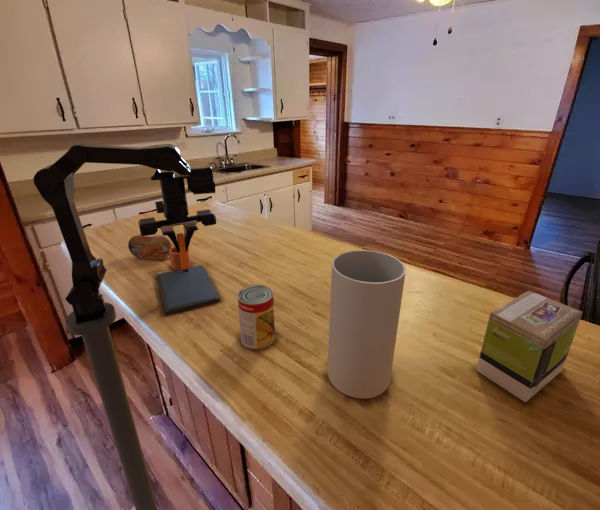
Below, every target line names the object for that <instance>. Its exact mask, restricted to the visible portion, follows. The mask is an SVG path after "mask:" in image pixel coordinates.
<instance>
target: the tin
mask: <svg viewBox="0 0 600 510" xmlns="http://www.w3.org/2000/svg"><path fill="white" fill-rule="evenodd" d="M127 247H128V250H129V252H130V254H132V256H133V257H135V258H136V259H141V260H155V261H156V260H157V261H162V260H165V259H166V258H167V257H170V255H169V249H171V248H172V244H171V240H170V239H168V238H167V237H166V236H163V235H160V234H154V235H148V236H141V233H140V234H137V235H133V236H132V237H130V238H129V240H128V242H127Z"/></svg>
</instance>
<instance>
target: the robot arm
mask: <svg viewBox="0 0 600 510" xmlns="http://www.w3.org/2000/svg"><path fill="white" fill-rule="evenodd" d="M85 163H87V164H88V163H89V164H111V165H112V164H113V165H135V166H144V167H147V168H151V169H154V170H155V172H154V173H153V174H152V175H151V176H150V180H151V181H159V185H160V191H161V196H162V200H158V201H154V204H155V209H156V214H163V217H164V219H162V220H156V217H146V218H140V219H139V220H138V227H139V232H140V234H141V236H148V235H157V233H158V231H159V229H160V231H161V234H162V236H164V237H166V236H167V237H168V238H169V240H170V242H172V244H173V245H174V246H173V247H176V249H177V251H178V253H180V248H179V245H178V241H177V233H176V232H175V229H174V227H177V226H182V227H183V235H184V241H185V248H186V251H188V248H189V247H190V244H191V240H192V238H193V236H194V233H195V231H198V230H199V228H198V226H197V224H198V223H201V225H203V226H204V227H209V226H214V225H215V226H216V225H217V217H216V214H215V213H214V212H213V211H212V210H210V209H204V210H197V211H196V214H195V215H189V207H188V199H187V191H188V192H190V193H191V194H193V196H195V195H207V194H208V195H209V194H216V181H215V178H214V171H213V167H212V166H204V167H191V166H190V165H189V163H187V162H186V161H185V160H184V159H183V158H182V153H181V151H180V149H179V148H178V147H177V146H176V145H174V144H172V143H162V144H153V145H148V146H140V147H139V146H138V147H137V146H122V145H121V146H120V145H104V144H103V145H102V144H101V145H100V144H88V143H84V142H82V143H81V142H79V143H75V144H74V145H71V146H70V147H69V149H68V150H67V151H66V152H65V153H64V154H63V155H62V156H61V157H60V158H58V159H57V160H56V161H55V162H54V163H53V164H49V165H47V166H45V167H43V168H41V169H39V170H38V171H37V172H36V173H35V174H34V175H33V179H32V180H33V185H34V186H35V188H36V189H37V192H38V193H39V195H40V196H41V198H42V199H43V200H44V201H45V202H46V203H47V204H48V205H49V206H50V207H51V208H52V211H53V214H54V217H55V219H56V222H57V225H58V228H59V230H60V233H61V236H62V238H63V242H64V244H65V247H66V250H67V252H68V254H69V258H70V261H71V281H72V287H71V288H70V290H69V292H68V293H67V295H66V297H65V301H66V302H67V304H69V305H70V306H71V308H72V312H73V311H74V314H75V317H76V319H75V323H76V324H78V323H82V322H86V321H91V320H95V319H99V318H103V317H104V312H105V311H106V305H105V303H106V302H105V298H104V294H103V293H102V294H101V293H100V287H101V285H102V284H103V281H104V278H105V276H106V273H107V268H106V267H105V265H104V259H103V257H100V258H96V257H95V256H94V255H93V253H92V251H91V248H90V246H89V242H88V239H87V236H86V233H85V230H84V227H83V225H82V221H81V218H80V216H79V213H78V212H79V211H78V209H77V207H76V206H77V205H76V204H75V192H76V191H75V189H76V188H75V187H76V186H75V181H74V175H75V174H76V173H77V172H78V171H79V169H81V168H82V167H83V165H85ZM185 179H186V184H187V191H186V184H185Z"/></svg>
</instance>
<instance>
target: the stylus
mask: <svg viewBox="0 0 600 510" xmlns="http://www.w3.org/2000/svg"><path fill="white" fill-rule="evenodd" d="M176 238H177V241H178V245H179V248H180V253H179V254H180V260H181V267H182V271H183V273H184V272H189V268H190V267H188V261H187V254H186V248H185V241H184V232H181V233H176Z"/></svg>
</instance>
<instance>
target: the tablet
mask: <svg viewBox="0 0 600 510" xmlns="http://www.w3.org/2000/svg"><path fill="white" fill-rule="evenodd" d="M188 268H189V272H184V273H183V271H182V269H181V270H170V271H167V272H161V273H157V274H156V278H157V282H158V287H159V291H160V296H161V300H162V304H163V307H164V312H165V316H168V315H172V314H176V313H180V312H184V311H185V312H186V311H189V310H193V309H196V308H201V307H204V306H208V305H213V304H216V303H219V302H221V298H220V295H219V294H218V292H217V290H216V288H215V286H214V285H213V282H212V281H211V279H210V277H209V275H208V272H207V271H206V270H205V267H204V265H203V264H200V265H195V266H190V267H188Z"/></svg>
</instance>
